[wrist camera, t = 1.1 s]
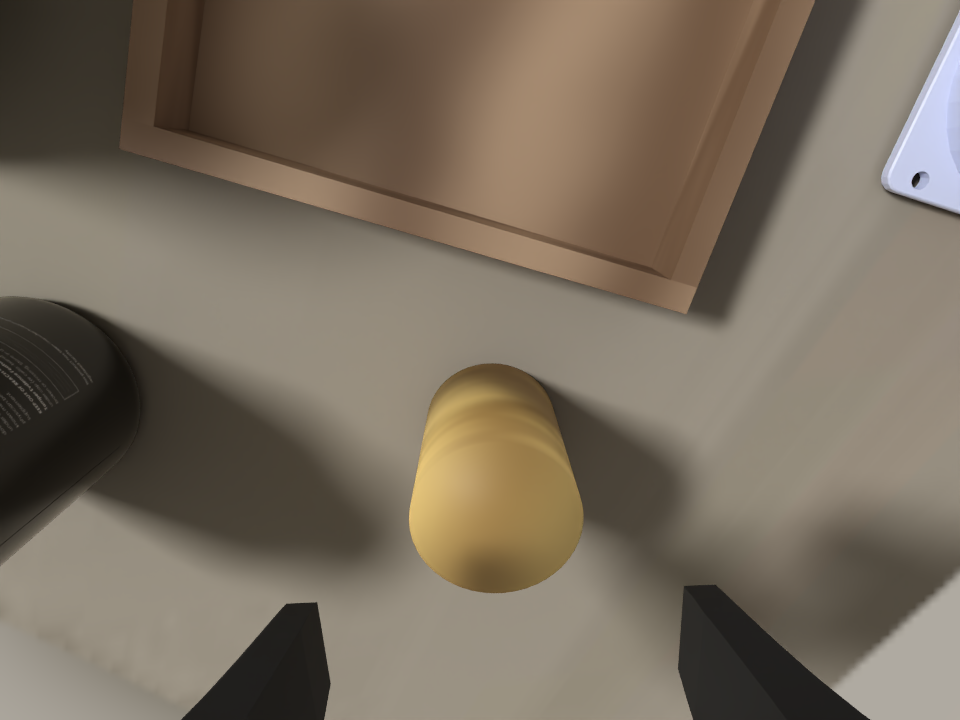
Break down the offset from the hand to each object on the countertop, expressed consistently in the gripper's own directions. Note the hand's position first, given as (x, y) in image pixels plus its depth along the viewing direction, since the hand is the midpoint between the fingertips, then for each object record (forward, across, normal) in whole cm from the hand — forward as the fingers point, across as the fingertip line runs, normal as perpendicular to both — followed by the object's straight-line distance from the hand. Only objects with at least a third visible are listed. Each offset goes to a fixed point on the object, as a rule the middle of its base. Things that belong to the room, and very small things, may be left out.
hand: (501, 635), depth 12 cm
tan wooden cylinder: (+10, 0, 0) cm, 10 cm away
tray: (+10, 0, -13) cm, 16 cm away
